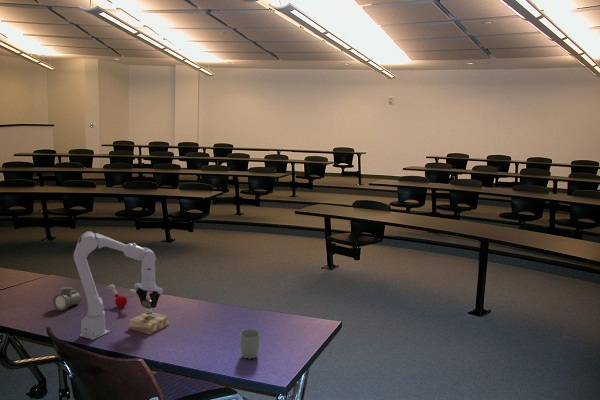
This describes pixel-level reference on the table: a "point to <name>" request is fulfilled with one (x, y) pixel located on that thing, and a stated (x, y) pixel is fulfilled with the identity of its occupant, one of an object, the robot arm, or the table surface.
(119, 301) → the molecular model
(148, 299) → the steel pin
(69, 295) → the pipe fitting
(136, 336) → the table surface
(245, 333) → the cup
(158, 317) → the wooden block
